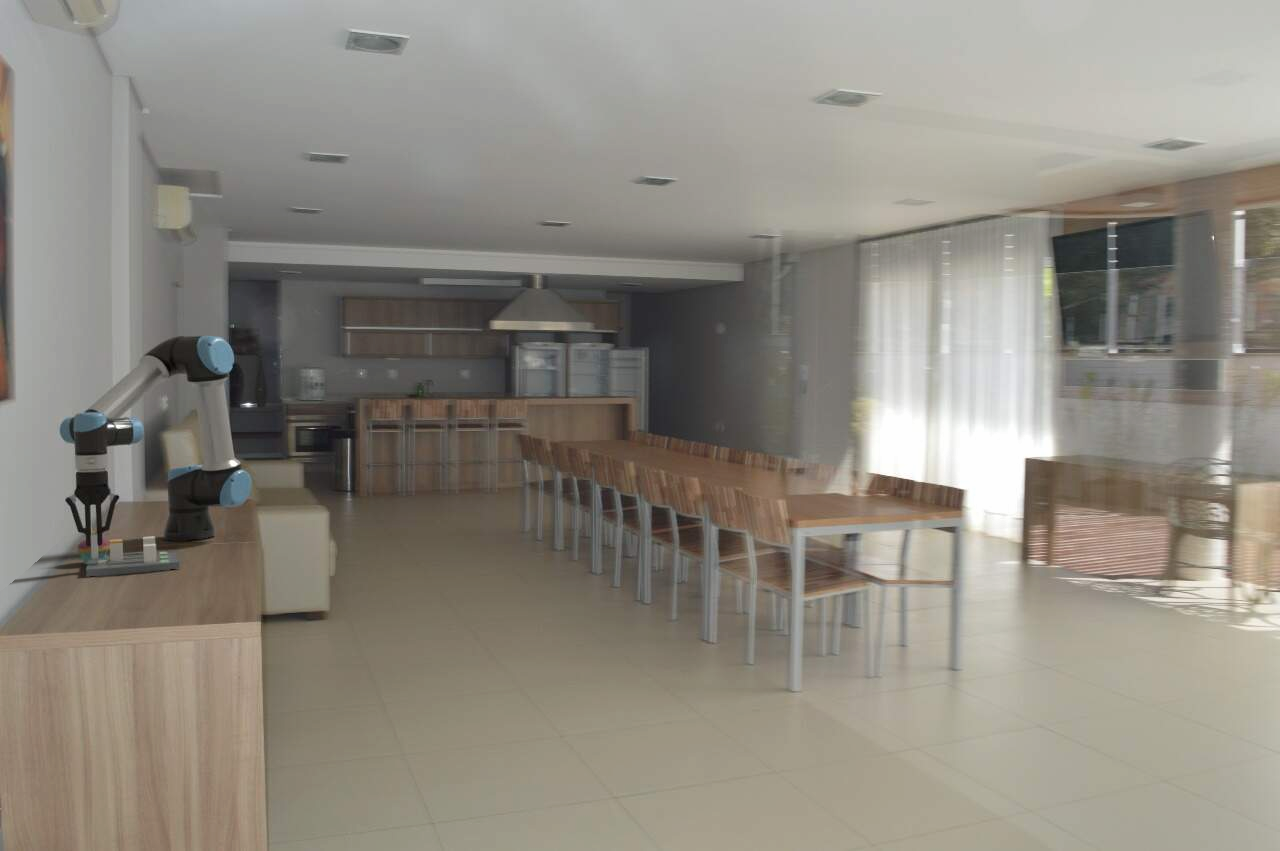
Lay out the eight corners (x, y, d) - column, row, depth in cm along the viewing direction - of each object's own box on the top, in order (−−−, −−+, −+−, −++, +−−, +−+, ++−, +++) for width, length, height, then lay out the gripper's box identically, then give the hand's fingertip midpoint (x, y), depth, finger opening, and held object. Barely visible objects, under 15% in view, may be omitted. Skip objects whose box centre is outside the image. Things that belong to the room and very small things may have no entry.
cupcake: (70, 564, 273) (69, 521, 272) (99, 559, 280) (98, 517, 279) (90, 567, 269) (88, 524, 268) (119, 562, 276) (117, 519, 276)
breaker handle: (110, 560, 267) (109, 539, 267) (123, 559, 268) (122, 538, 268) (110, 562, 264) (109, 541, 264) (122, 561, 266) (122, 540, 265)
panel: (89, 565, 271) (88, 540, 271) (176, 558, 281) (176, 534, 281) (86, 578, 255) (85, 551, 255) (179, 569, 265) (178, 544, 265)
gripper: (62, 472, 256) (66, 562, 258) (119, 470, 262) (122, 557, 264) (64, 470, 263) (67, 557, 264) (119, 467, 269) (122, 553, 270)
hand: (94, 557), depth 264 cm, fingers closed
